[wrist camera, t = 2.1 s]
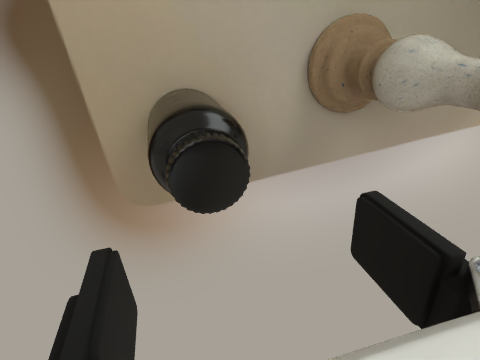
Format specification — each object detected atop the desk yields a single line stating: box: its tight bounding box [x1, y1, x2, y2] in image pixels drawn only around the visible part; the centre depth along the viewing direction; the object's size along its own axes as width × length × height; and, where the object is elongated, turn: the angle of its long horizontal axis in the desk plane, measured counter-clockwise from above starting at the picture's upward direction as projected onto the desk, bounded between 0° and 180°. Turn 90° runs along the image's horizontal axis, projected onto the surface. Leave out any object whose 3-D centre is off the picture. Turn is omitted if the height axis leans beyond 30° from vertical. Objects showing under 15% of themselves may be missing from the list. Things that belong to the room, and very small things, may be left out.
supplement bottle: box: [148, 89, 250, 214], centre depth 22 cm, size 7×7×12 cm
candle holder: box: [308, 14, 480, 112], centre depth 20 cm, size 9×9×20 cm
